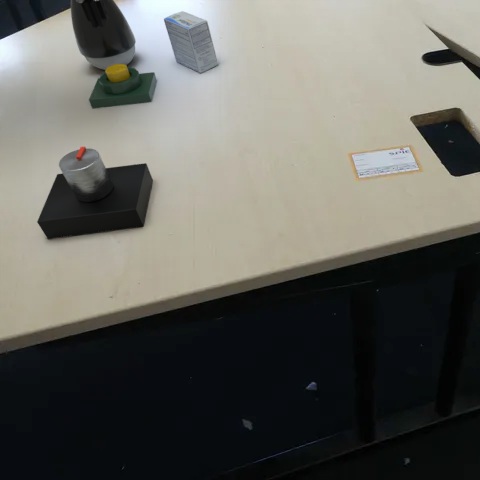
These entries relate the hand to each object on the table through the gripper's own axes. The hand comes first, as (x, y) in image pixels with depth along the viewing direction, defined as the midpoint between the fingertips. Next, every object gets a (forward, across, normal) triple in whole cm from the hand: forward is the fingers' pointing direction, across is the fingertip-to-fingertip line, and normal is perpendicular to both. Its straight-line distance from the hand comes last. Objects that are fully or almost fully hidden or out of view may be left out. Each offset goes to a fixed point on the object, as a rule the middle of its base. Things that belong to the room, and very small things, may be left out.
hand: (100, 24), depth 86 cm
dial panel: (+12, -2, +32) cm, 34 cm away
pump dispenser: (+13, +4, -13) cm, 19 cm away
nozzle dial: (+9, -2, +32) cm, 33 cm away
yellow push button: (+9, 0, 0) cm, 9 cm away
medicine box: (+13, -12, -9) cm, 20 cm away
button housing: (+12, 0, 0) cm, 12 cm away
